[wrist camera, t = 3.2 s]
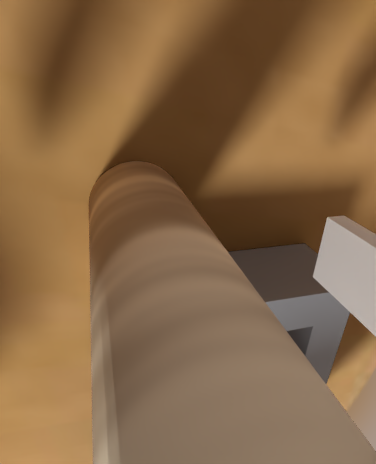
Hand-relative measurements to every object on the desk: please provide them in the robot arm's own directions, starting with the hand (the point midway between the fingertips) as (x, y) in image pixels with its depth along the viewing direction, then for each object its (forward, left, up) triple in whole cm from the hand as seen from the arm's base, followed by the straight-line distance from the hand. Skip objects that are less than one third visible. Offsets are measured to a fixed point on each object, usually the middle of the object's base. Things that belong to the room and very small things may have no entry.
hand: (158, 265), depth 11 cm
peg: (0, 0, -5) cm, 5 cm away
